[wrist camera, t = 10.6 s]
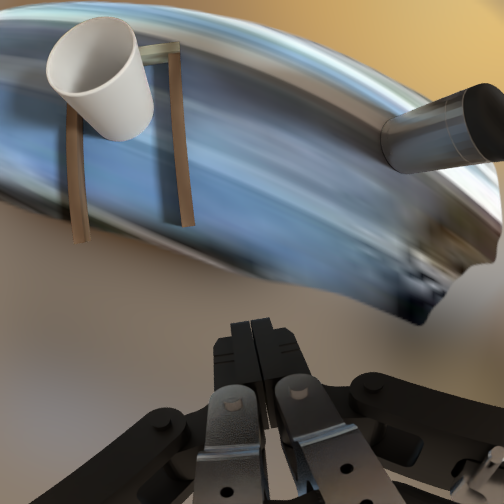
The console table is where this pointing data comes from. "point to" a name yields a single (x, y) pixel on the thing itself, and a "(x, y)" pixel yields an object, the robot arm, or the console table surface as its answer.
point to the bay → (172, 55)
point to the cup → (103, 77)
